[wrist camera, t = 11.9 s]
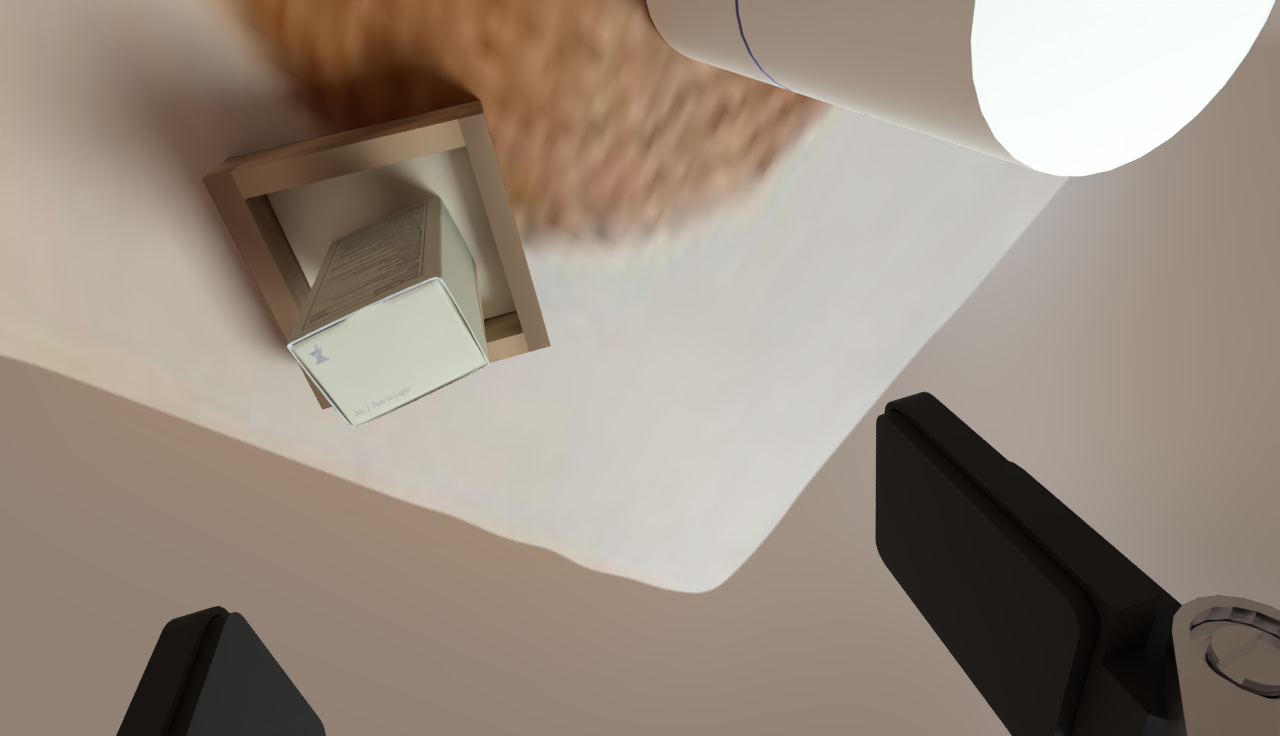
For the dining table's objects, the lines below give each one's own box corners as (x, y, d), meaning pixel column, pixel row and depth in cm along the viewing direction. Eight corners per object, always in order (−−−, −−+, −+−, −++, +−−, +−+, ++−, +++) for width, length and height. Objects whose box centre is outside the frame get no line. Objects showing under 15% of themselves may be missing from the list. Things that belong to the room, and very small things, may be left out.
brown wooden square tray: (480, 99, 34) (483, 113, 31) (542, 315, 41) (550, 345, 38) (227, 158, 33) (202, 179, 30) (333, 372, 39) (322, 409, 36)
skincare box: (375, 310, 37) (347, 436, 27) (327, 238, 35) (276, 347, 24) (481, 262, 37) (494, 370, 27) (441, 187, 35) (438, 274, 25)
